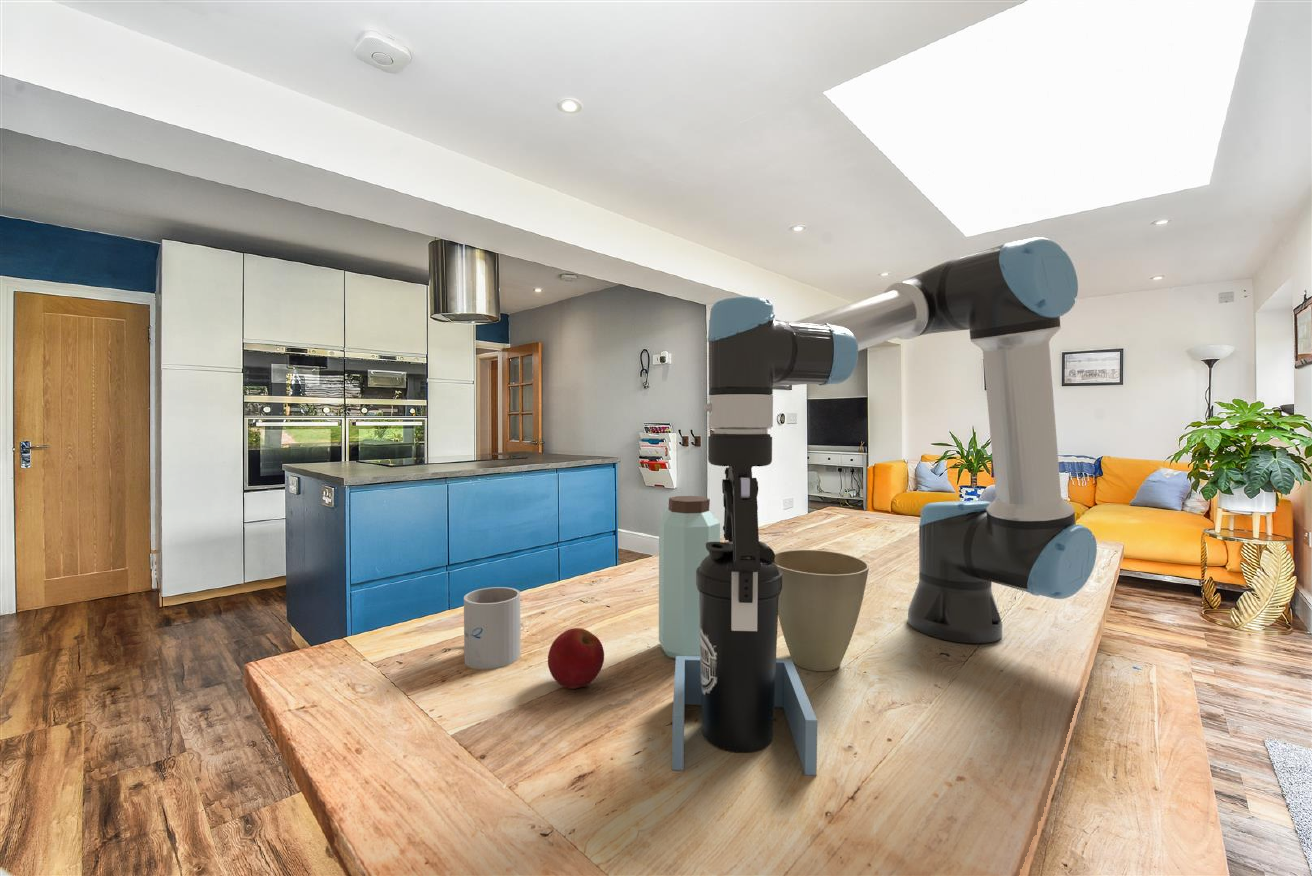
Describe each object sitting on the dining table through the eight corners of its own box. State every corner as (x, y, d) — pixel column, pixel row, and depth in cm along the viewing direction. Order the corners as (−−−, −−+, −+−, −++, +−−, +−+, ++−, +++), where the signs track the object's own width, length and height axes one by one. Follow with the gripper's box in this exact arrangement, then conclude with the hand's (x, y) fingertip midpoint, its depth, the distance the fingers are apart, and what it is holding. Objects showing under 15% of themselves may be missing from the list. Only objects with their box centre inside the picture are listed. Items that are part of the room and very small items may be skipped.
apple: (559, 704, 76) (558, 644, 75) (541, 679, 83) (541, 625, 83) (611, 691, 79) (611, 634, 79) (590, 668, 86) (590, 616, 86)
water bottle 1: (716, 666, 87) (717, 504, 86) (652, 660, 89) (652, 502, 88) (721, 641, 97) (722, 495, 96) (664, 636, 99) (664, 493, 98)
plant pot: (760, 674, 84) (761, 568, 84) (775, 638, 98) (776, 546, 98) (867, 691, 79) (869, 578, 79) (867, 650, 93) (868, 553, 93)
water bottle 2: (689, 712, 74) (690, 535, 72) (766, 708, 74) (768, 534, 73) (702, 759, 63) (703, 555, 62) (791, 755, 64) (794, 554, 63)
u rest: (790, 703, 76) (791, 658, 76) (816, 775, 61) (817, 720, 60) (675, 699, 77) (675, 655, 77) (672, 770, 62) (672, 715, 61)
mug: (526, 662, 88) (526, 599, 88) (469, 674, 85) (468, 607, 84) (508, 635, 99) (508, 578, 99) (457, 644, 95) (456, 585, 95)
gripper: (705, 429, 80) (704, 578, 81) (712, 434, 55) (711, 650, 56) (759, 429, 80) (757, 579, 80) (790, 435, 55) (788, 652, 56)
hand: (738, 608), depth 68 cm, fingers open, 13 cm apart
